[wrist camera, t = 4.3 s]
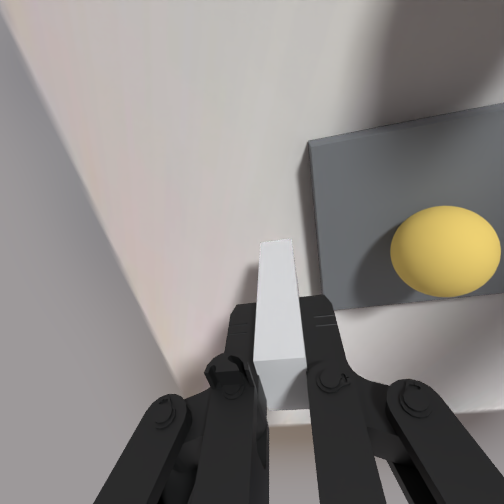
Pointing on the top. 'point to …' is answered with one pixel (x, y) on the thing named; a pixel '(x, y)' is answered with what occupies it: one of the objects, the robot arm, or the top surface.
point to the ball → (445, 251)
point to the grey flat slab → (401, 197)
